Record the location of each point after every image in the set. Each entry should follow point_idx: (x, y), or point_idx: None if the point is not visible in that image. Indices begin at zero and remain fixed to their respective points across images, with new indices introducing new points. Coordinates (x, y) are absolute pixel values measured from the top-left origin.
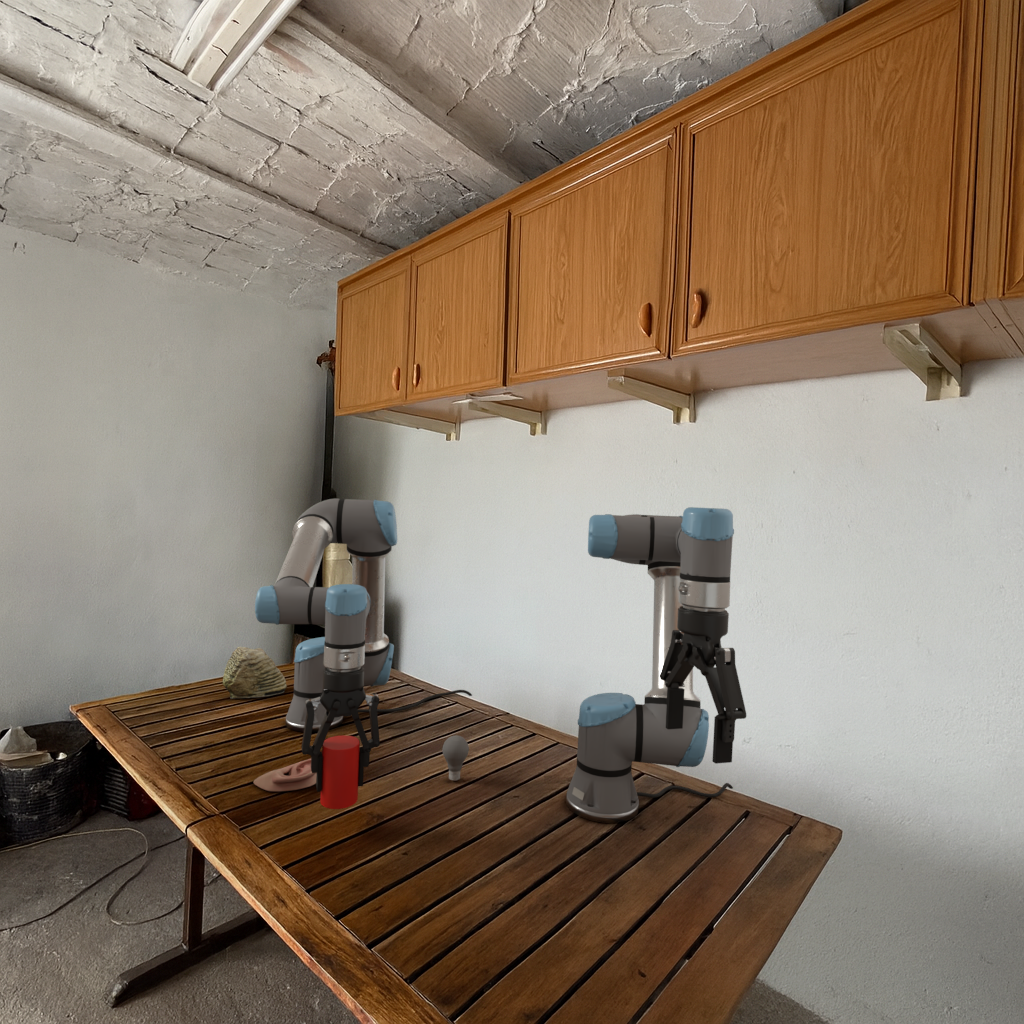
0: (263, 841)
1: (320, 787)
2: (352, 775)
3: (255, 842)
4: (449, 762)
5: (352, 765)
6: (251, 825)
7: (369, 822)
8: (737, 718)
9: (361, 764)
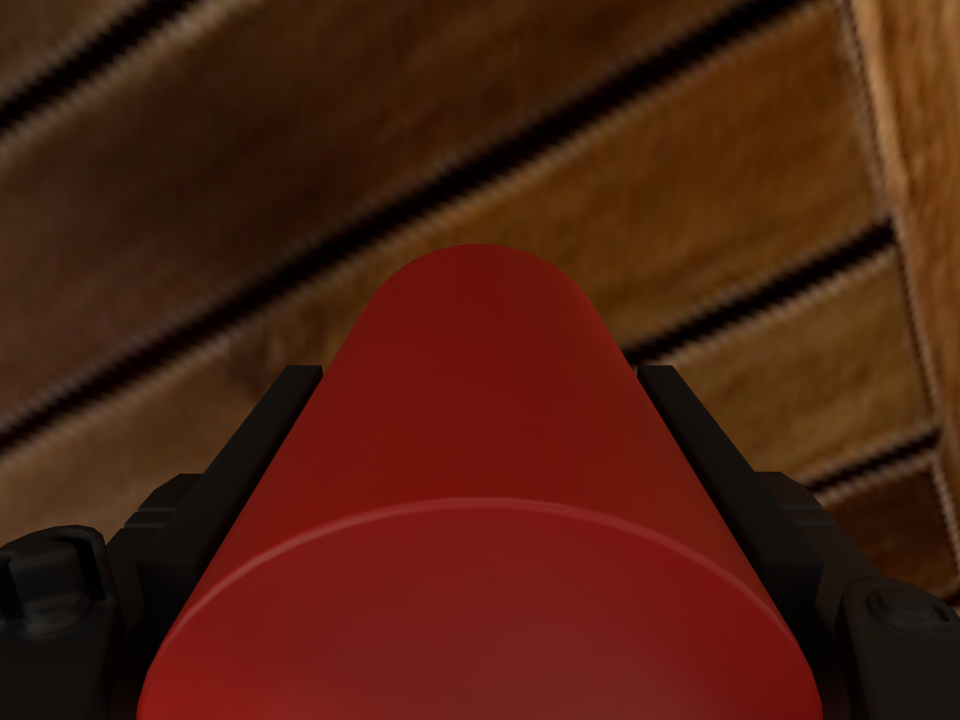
0: (863, 294)
1: (655, 377)
2: (362, 343)
3: (902, 296)
4: None
5: (342, 390)
6: (879, 458)
7: (309, 330)
8: None
9: (237, 465)
